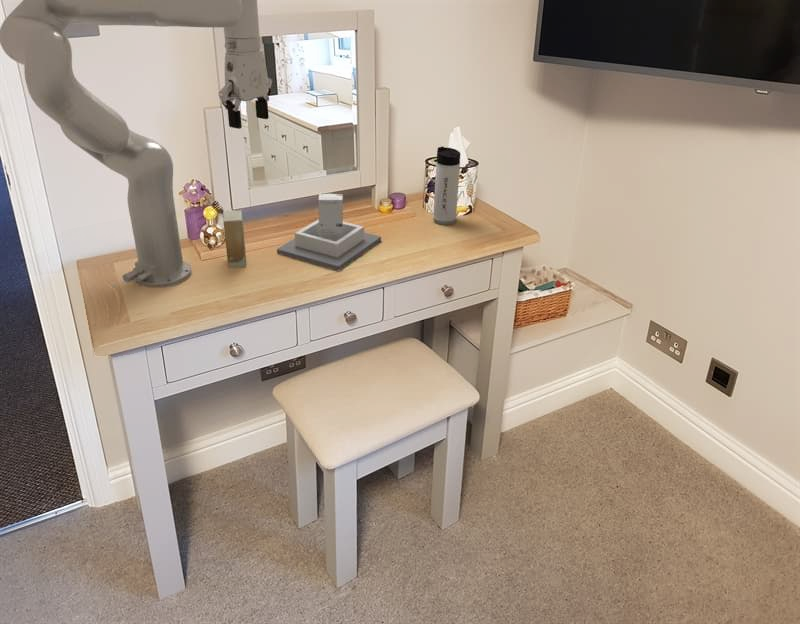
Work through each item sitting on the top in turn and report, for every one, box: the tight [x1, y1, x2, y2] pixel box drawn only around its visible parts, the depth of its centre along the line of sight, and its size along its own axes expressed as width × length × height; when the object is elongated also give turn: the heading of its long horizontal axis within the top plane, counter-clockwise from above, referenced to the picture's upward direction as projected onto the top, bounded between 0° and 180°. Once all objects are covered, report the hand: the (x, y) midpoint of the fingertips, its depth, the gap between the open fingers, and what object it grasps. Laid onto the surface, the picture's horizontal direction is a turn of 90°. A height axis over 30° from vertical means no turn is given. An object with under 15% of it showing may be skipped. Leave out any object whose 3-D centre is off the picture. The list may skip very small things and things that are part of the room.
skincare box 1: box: [222, 210, 248, 269], centre depth 162 cm, size 6×4×12 cm
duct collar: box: [276, 218, 382, 271], centre depth 173 cm, size 20×18×5 cm
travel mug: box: [432, 146, 461, 226], centre depth 186 cm, size 6×7×20 cm
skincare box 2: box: [317, 193, 344, 241], centre depth 171 cm, size 6×4×12 cm
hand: (249, 122), depth 161 cm, fingers open, 9 cm apart
